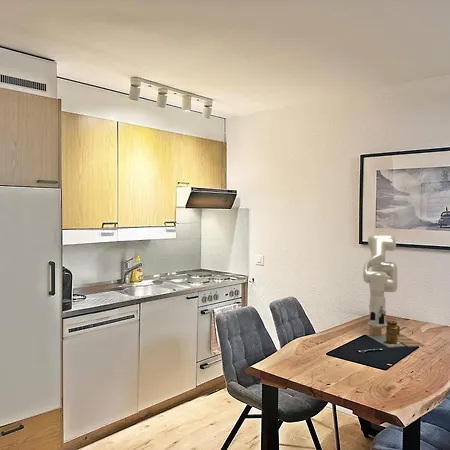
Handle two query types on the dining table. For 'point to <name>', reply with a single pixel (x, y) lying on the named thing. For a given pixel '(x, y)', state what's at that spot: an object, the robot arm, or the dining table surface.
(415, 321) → the dining table surface
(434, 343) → the dining table surface
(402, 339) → the strip empty
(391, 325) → the condiment
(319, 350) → the dining table surface
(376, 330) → the strip
